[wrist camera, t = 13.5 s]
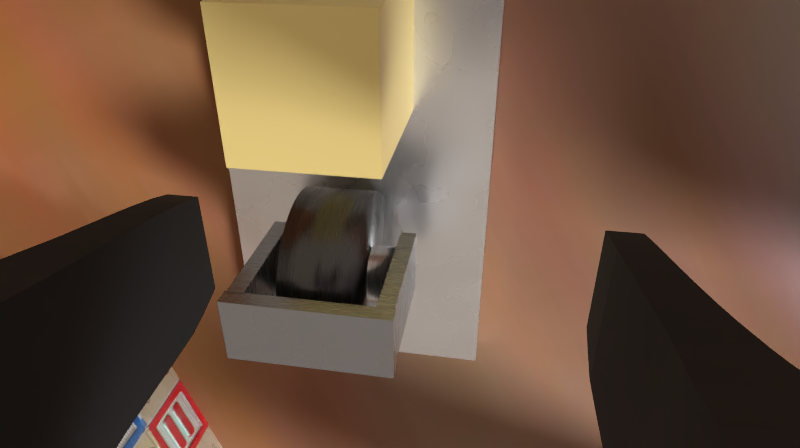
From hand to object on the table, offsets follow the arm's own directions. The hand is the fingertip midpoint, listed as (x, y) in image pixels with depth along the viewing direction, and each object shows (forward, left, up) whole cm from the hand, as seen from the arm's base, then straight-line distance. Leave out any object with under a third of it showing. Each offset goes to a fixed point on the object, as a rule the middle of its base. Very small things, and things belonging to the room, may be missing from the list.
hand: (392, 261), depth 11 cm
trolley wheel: (+3, +3, -10) cm, 11 cm away
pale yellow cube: (+3, -2, -9) cm, 10 cm away
